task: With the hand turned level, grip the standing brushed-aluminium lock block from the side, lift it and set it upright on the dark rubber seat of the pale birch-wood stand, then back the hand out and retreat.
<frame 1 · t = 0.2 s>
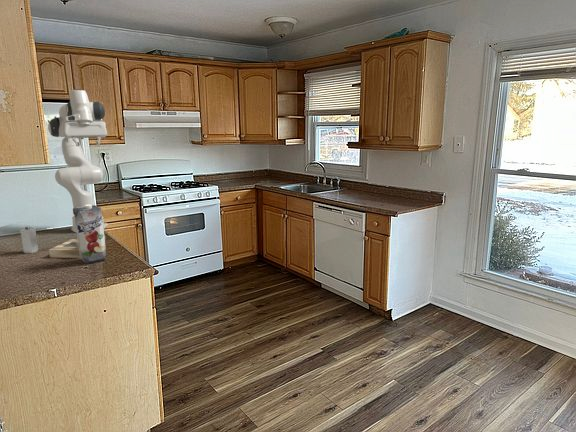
hand: (88, 145, 206), 52 cm above the table, tool tilted 20°, fingers open, 8 cm apart
juice carton: (93, 261, 189), on the table
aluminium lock: (31, 251, 204), on the table
supplement can: (97, 241, 222), on the table
birch stand: (76, 252, 202), on the table
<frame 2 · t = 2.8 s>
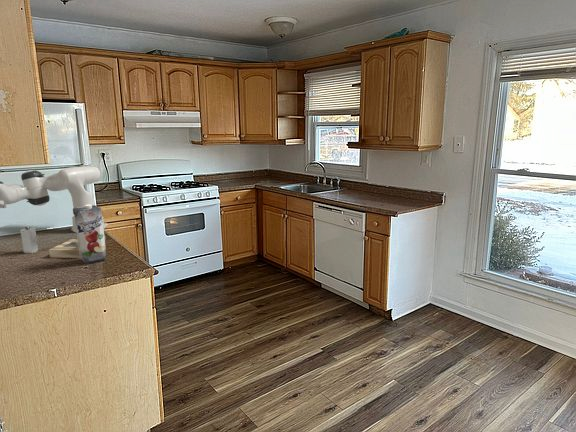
nothing on the table moved.
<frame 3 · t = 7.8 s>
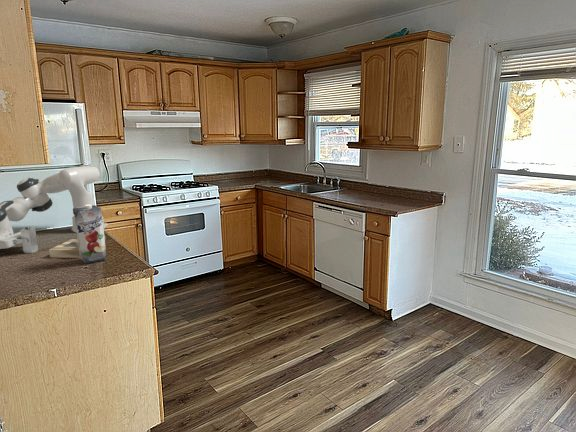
hand: (31, 239, 202), 7 cm above the table, tool horizontal, fingers closed on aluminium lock, 4 cm apart
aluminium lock: (31, 251, 204), on the table, touching gripper
everything else where it was.
when the fingers open (12 cm above the table, at t = 11.9 s): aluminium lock drops 1 cm, resting on birch stand.
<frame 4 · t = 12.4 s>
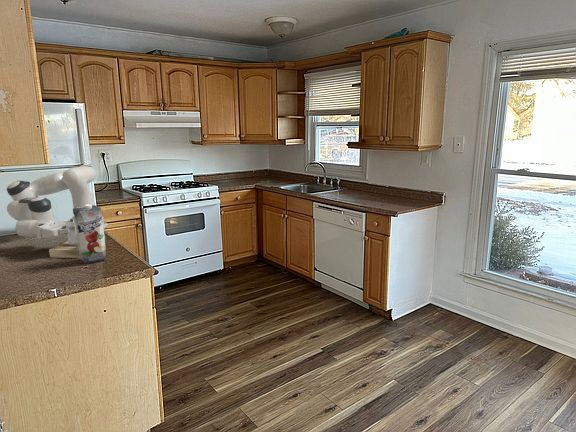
hand: (75, 228, 200), 12 cm above the table, tool horizontal, fingers open, 8 cm apart
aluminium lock: (75, 244, 201), point 4 cm above the table, touching birch stand
everything else where it was.
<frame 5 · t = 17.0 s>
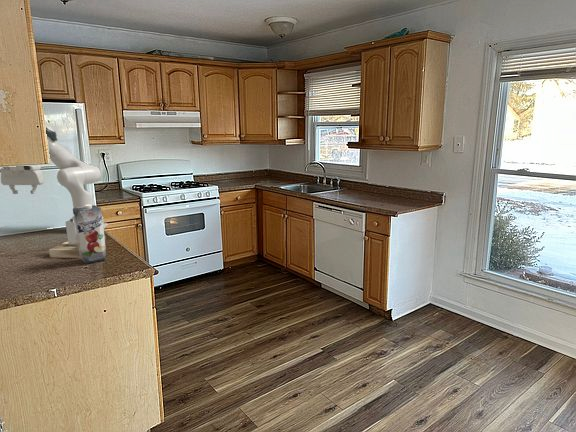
hand: (24, 193, 202), 29 cm above the table, tool pointing down, fingers open, 8 cm apart
nothing on the table moved.
at the end: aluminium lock inside the target area on the birch stand (0.1 cm from its centre), point 4.2 cm above the birch stand's base; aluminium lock tilted 0°; the gripper is holding nothing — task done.
